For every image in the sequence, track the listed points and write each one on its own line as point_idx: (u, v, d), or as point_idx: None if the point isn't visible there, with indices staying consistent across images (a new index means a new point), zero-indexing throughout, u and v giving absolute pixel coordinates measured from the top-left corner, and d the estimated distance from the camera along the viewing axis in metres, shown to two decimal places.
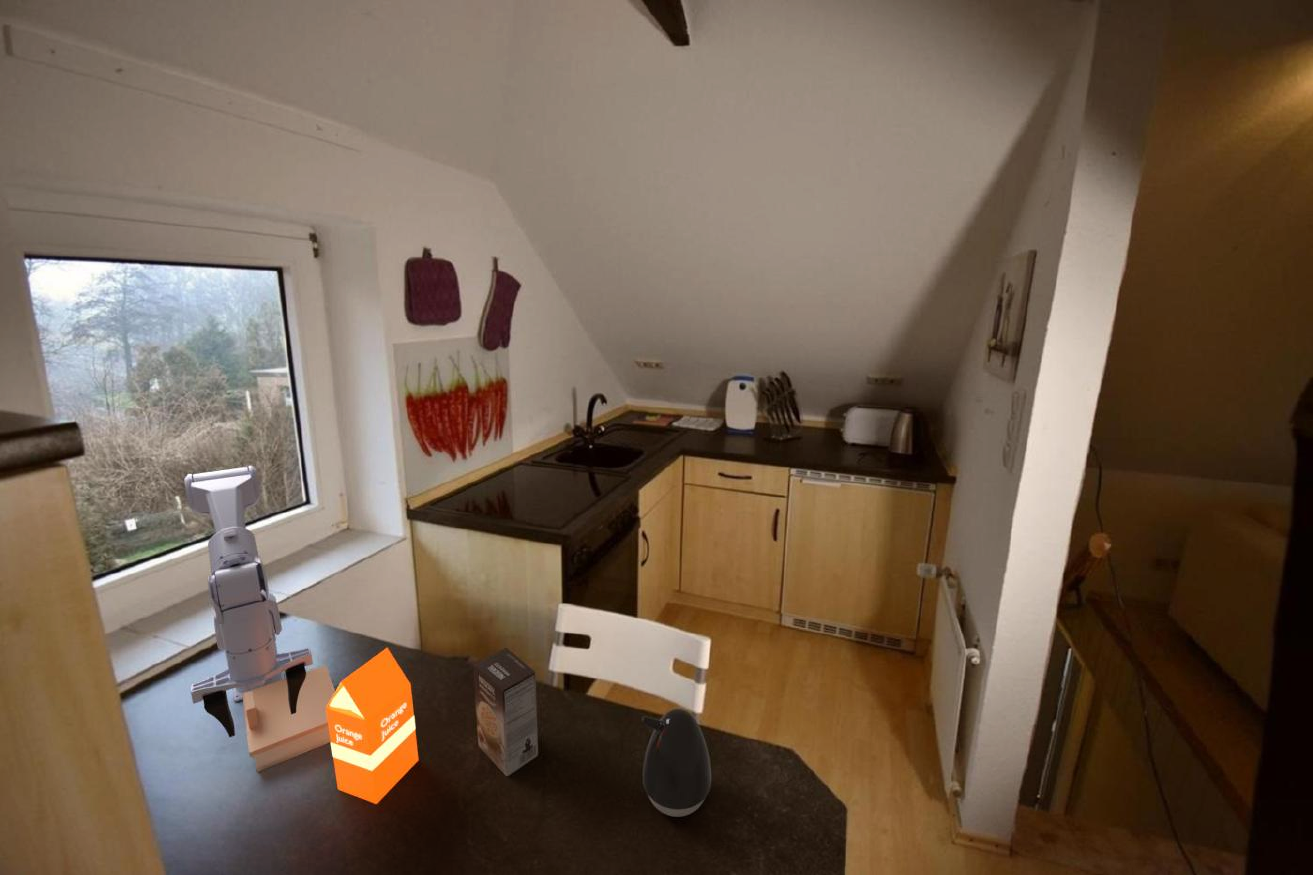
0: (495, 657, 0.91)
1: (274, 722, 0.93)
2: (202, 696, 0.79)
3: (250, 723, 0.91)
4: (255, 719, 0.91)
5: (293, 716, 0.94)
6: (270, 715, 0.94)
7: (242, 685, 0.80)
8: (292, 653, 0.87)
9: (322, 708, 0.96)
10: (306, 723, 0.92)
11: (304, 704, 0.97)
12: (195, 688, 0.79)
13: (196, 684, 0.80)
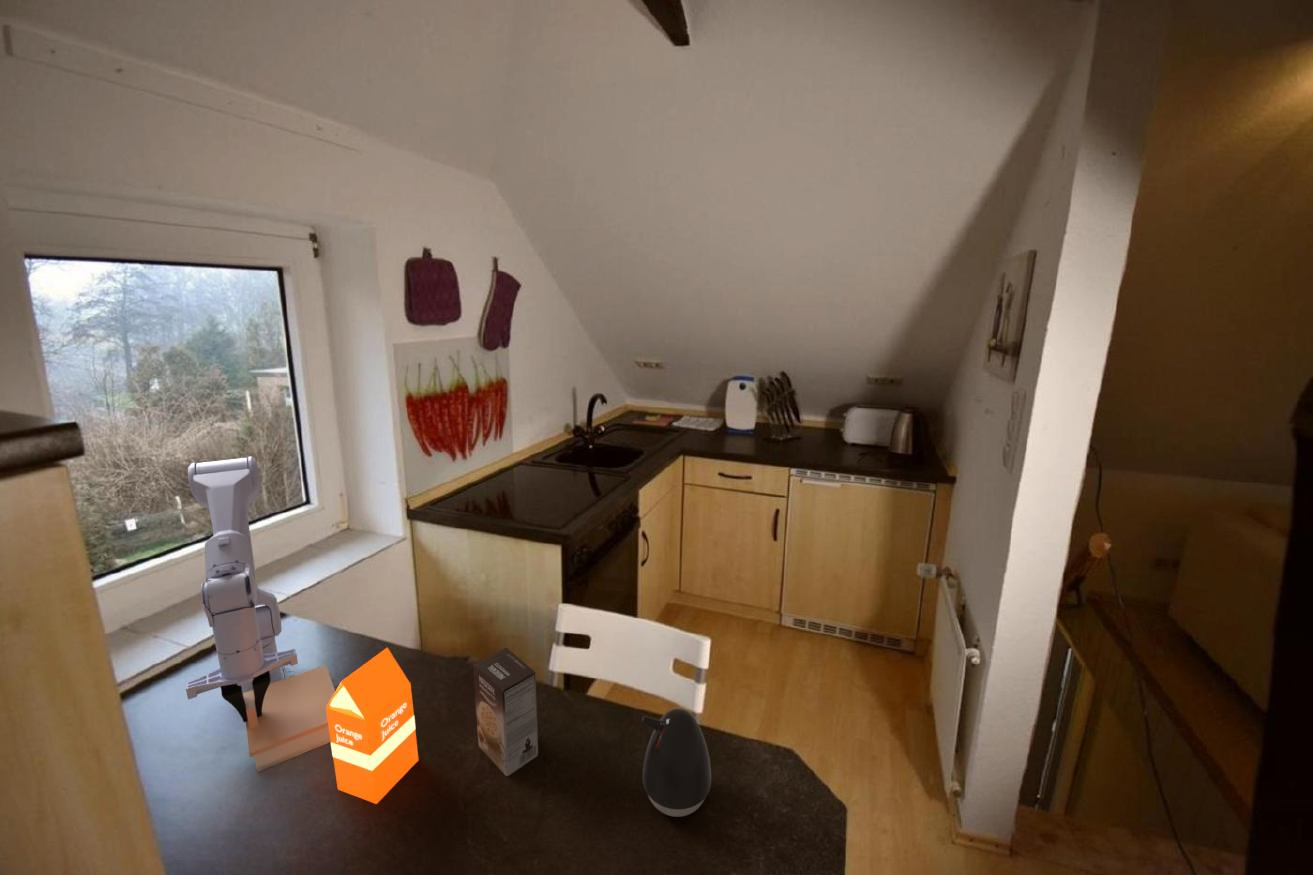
0: (495, 657, 0.91)
1: (274, 722, 0.93)
2: (196, 693, 0.87)
3: (250, 723, 0.91)
4: (255, 719, 0.91)
5: (293, 716, 0.94)
6: (270, 715, 0.94)
7: (232, 683, 0.88)
8: (279, 654, 0.95)
9: (322, 708, 0.96)
10: (306, 723, 0.92)
11: (304, 704, 0.97)
12: (190, 685, 0.87)
13: (191, 682, 0.88)
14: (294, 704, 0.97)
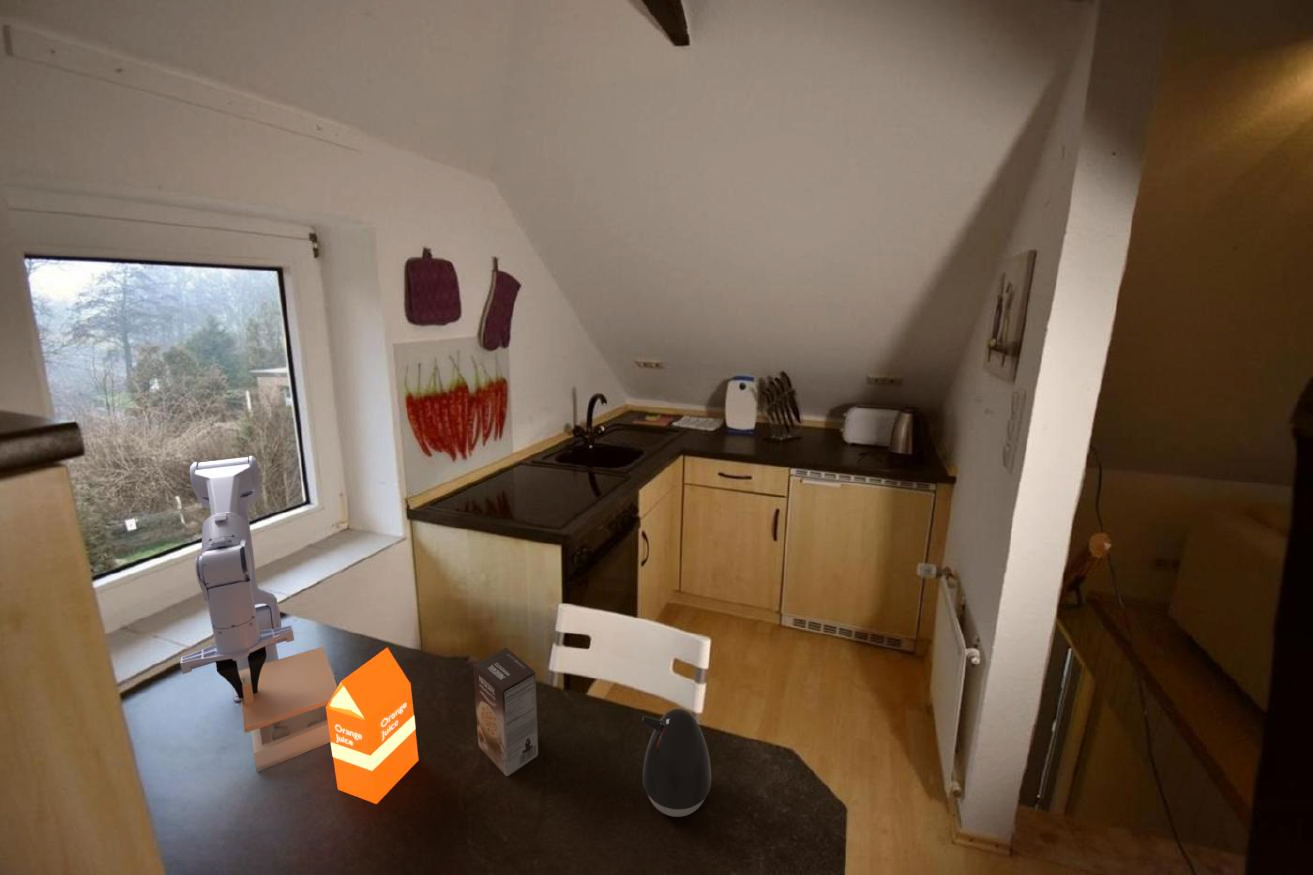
0: (495, 657, 0.91)
1: (270, 700, 0.92)
2: (191, 667, 0.86)
3: (246, 700, 0.90)
4: (251, 696, 0.90)
5: (289, 694, 0.93)
6: (266, 693, 0.93)
7: (228, 658, 0.87)
8: (275, 630, 0.94)
9: (319, 688, 0.95)
10: (302, 701, 0.91)
11: (301, 683, 0.96)
12: (184, 660, 0.86)
13: (185, 656, 0.87)
14: (290, 683, 0.96)
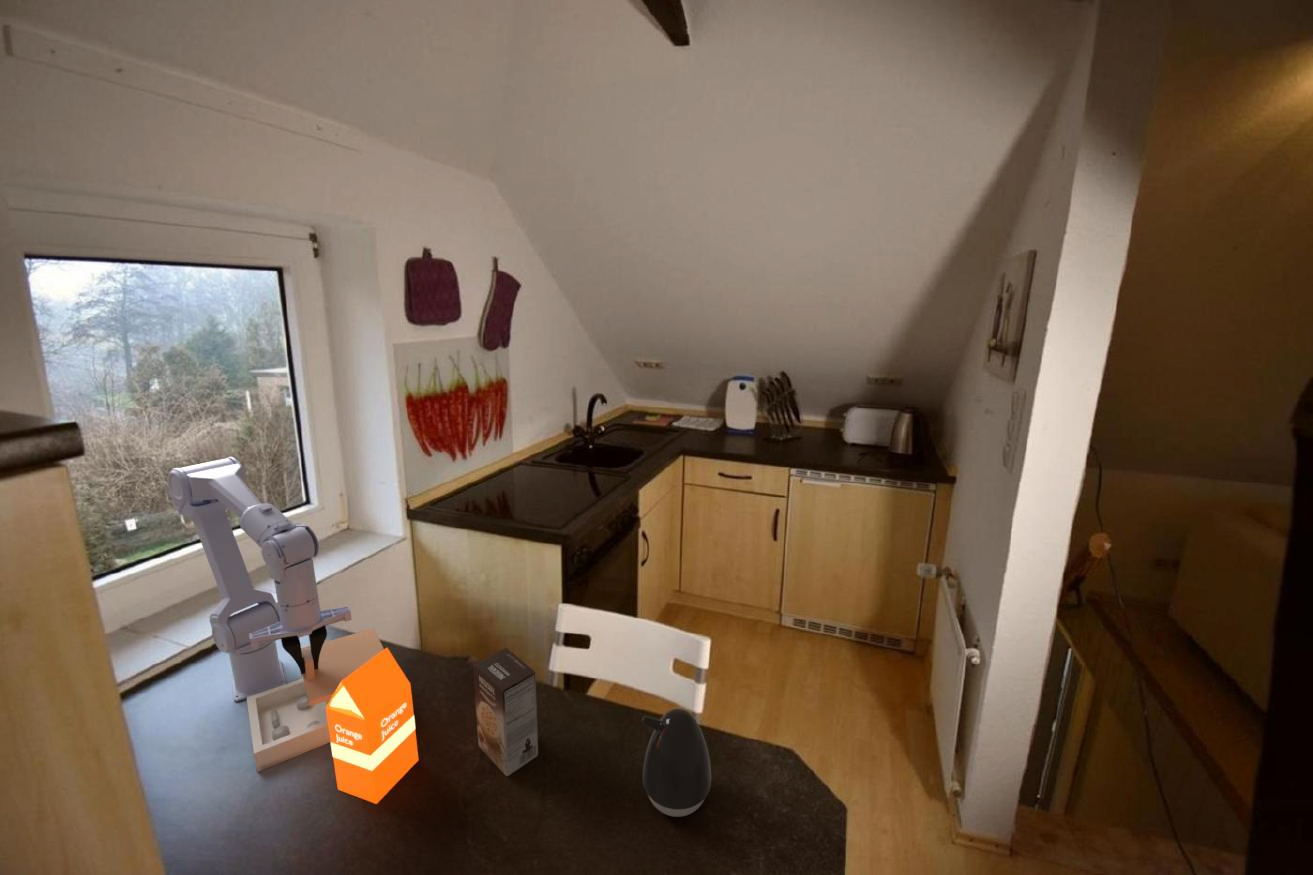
0: (495, 657, 0.91)
1: (330, 676, 0.97)
2: (259, 643, 0.91)
3: (308, 676, 0.95)
4: (312, 672, 0.95)
5: (347, 671, 0.98)
6: (325, 670, 0.98)
7: (293, 634, 0.92)
8: (333, 610, 0.99)
9: None
10: None
11: (357, 661, 1.01)
12: (253, 636, 0.91)
13: (253, 633, 0.92)
14: (347, 661, 1.01)
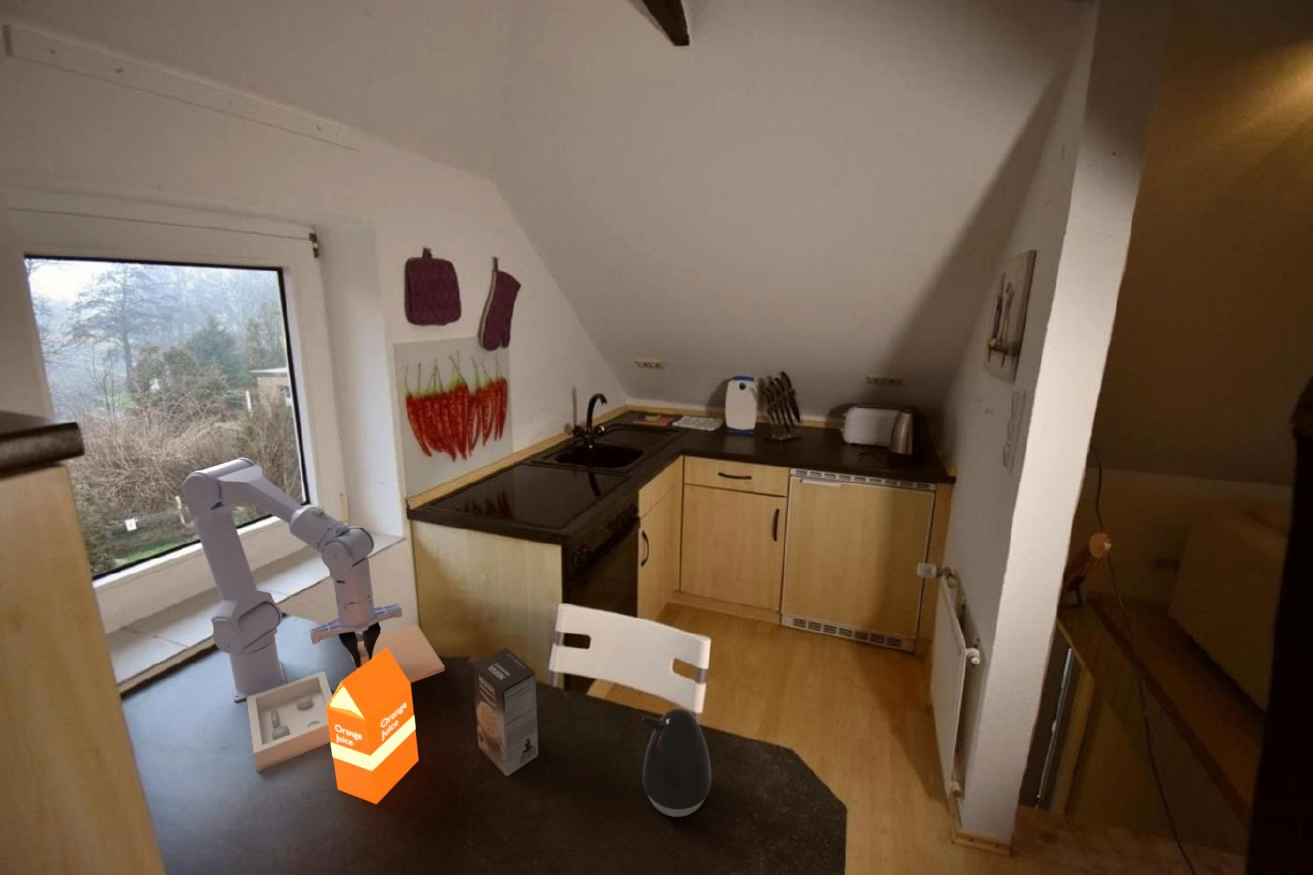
0: (495, 657, 0.91)
1: None
2: (319, 638, 0.97)
3: None
4: None
5: (399, 665, 1.04)
6: None
7: (350, 630, 0.98)
8: (385, 607, 1.05)
9: (424, 660, 1.06)
10: (412, 672, 1.02)
11: (406, 656, 1.07)
12: (314, 632, 0.97)
13: (314, 629, 0.97)
14: (397, 655, 1.07)
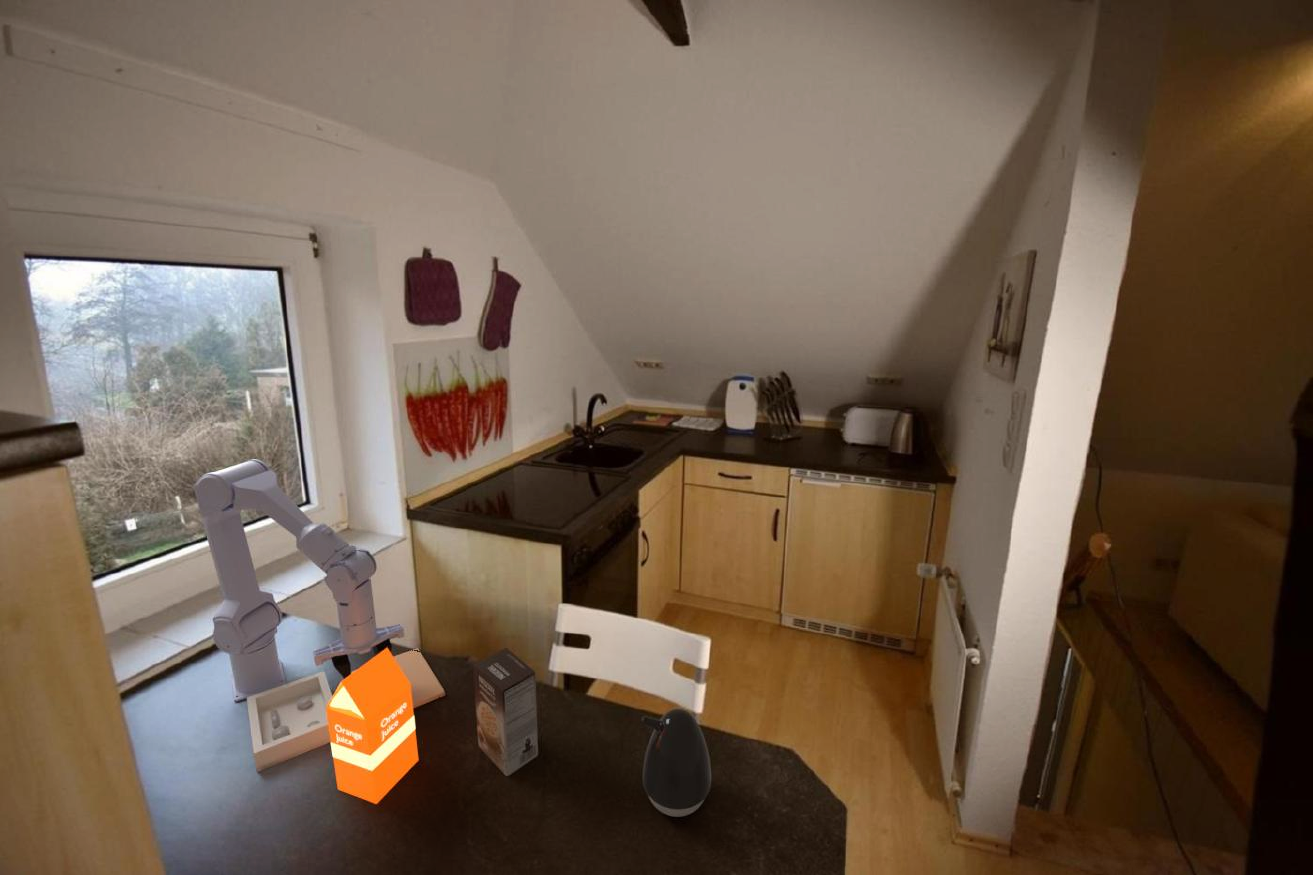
0: (495, 657, 0.91)
1: None
2: (322, 660, 0.98)
3: None
4: None
5: None
6: None
7: (353, 651, 0.99)
8: (387, 627, 1.06)
9: (424, 685, 1.07)
10: (413, 698, 1.03)
11: None
12: (317, 653, 0.98)
13: (317, 651, 0.98)
14: None
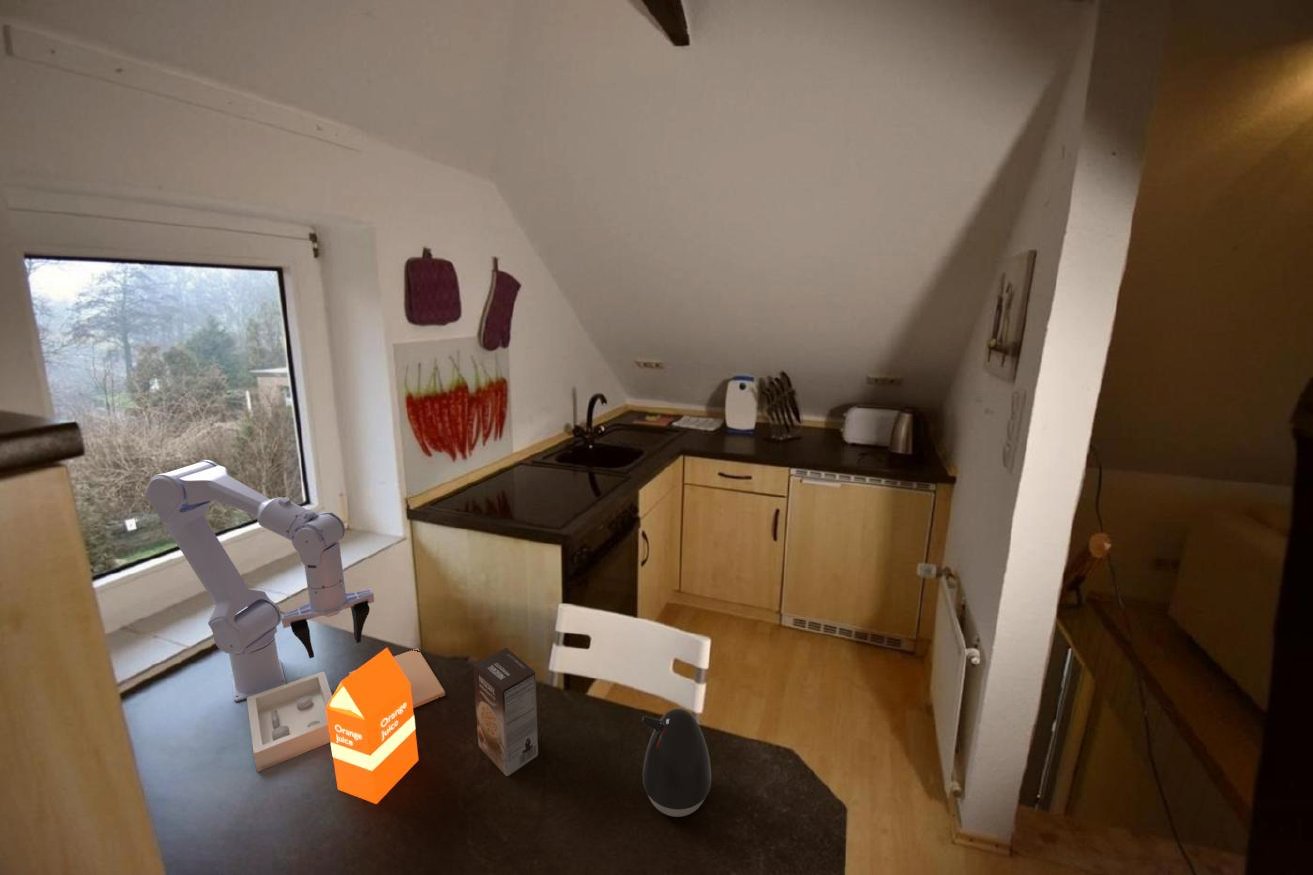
0: (495, 657, 0.91)
1: None
2: (290, 622, 0.98)
3: None
4: None
5: None
6: None
7: (321, 614, 0.99)
8: (357, 593, 1.06)
9: (424, 685, 1.07)
10: (413, 697, 1.03)
11: None
12: (285, 616, 0.98)
13: (285, 613, 0.99)
14: None
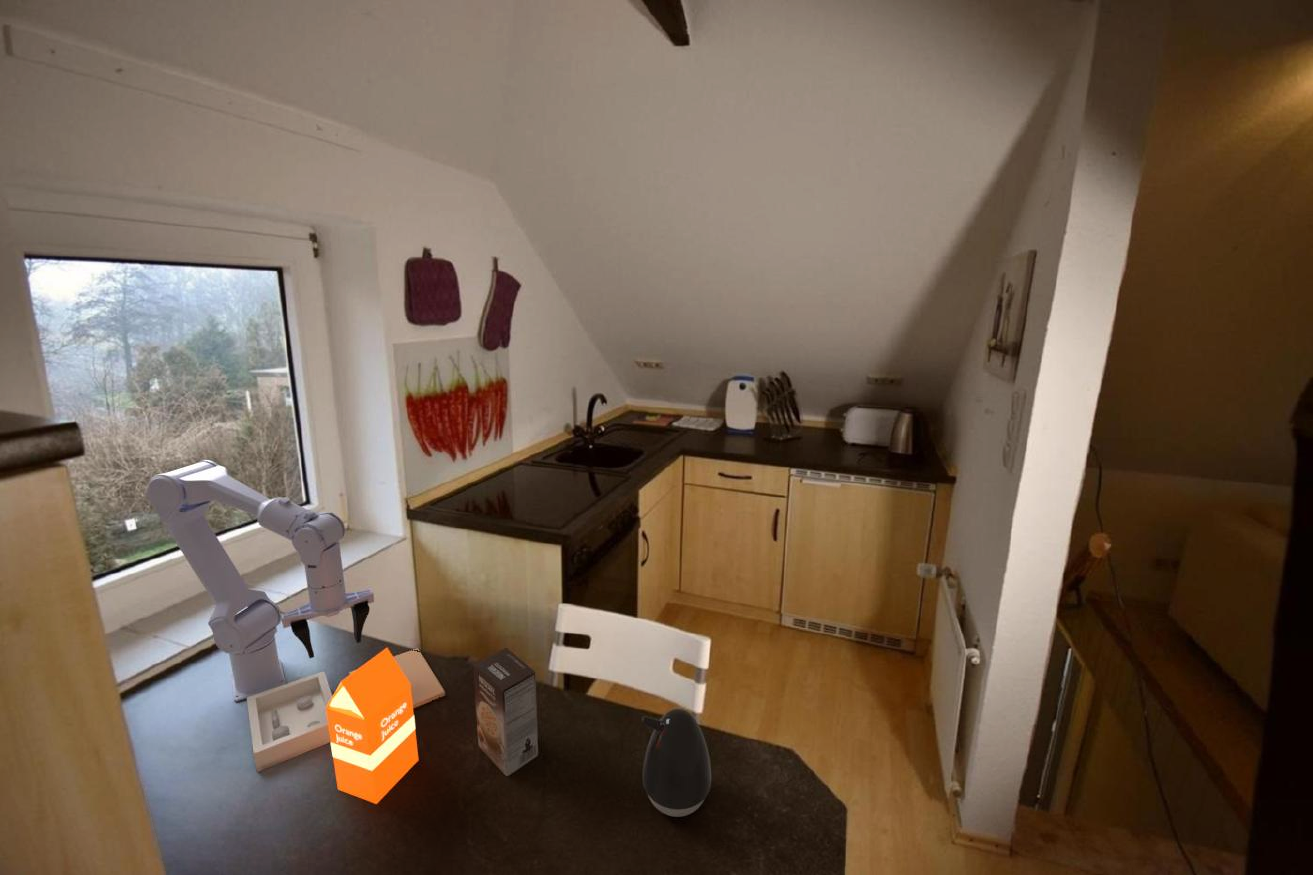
0: (495, 657, 0.91)
1: None
2: (290, 622, 0.98)
3: None
4: None
5: None
6: None
7: (321, 614, 0.99)
8: (357, 593, 1.06)
9: (424, 685, 1.07)
10: (413, 698, 1.03)
11: None
12: (285, 616, 0.98)
13: (285, 613, 0.99)
14: None
